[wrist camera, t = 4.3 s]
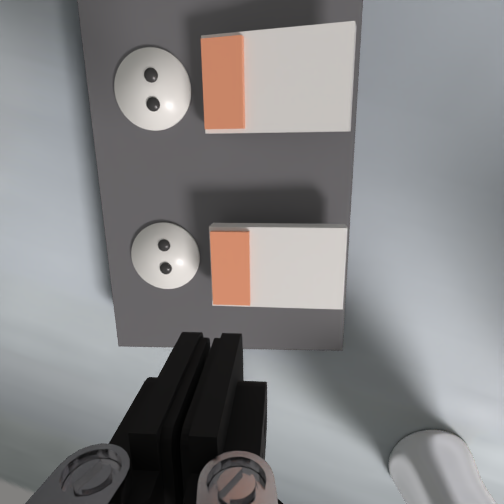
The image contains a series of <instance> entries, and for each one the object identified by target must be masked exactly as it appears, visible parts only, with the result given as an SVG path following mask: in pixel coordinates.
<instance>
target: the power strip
mask: <svg viewBox="0 0 504 504" xmlns="http://www.w3.org/2000/svg"><path fill="white" fill-rule="evenodd" d="M77 3H78V11H79V19H80V28H81V36H82V44H83V53H84V61H85V70H86V78H87V86H88V95H89V103H90V111H91V120H92V128H93V136H94V145H95V153H96V162H97V170H98V178H99V187H100V195H101V203H102V212H103V220H104V228H105V237H106V245H107V254H108V262H109V270H110V279H111V287H112V295H113V304H114V312H115V320H116V329H117V337H118V345H119V346H130V347H174V346H175V344H176V342H177V340H178V338H179V337H180V335H181V333H182V332H202V333H203V337H205V338H209V339H210V348H211V346H212V343H213V340H214V338H220V337H221V334H222V333H242V341H243V349H281V350H331V351H342V348H343V331H344V314H345V297H346V280H347V263H348V246H349V229H350V212H351V195H352V178H353V161H354V144H355V127H356V110H357V93H358V76H359V59H360V42H361V25H362V8H363V0H77ZM347 21H355V23H356V43H355V61H354V79H353V97H352V115H351V131H347V132H287V133H226V134H205V126H204V103H203V80H202V57H201V36H202V35H212V34H222V33H233V32H243V31H254V30H264V29H274V28H285V27H295V26H306V25H316V24H327V23H337V22H347ZM212 223H298V224H345V225H346V226H347V228H348V229H347V246H346V264H345V281H344V299H343V310H342V309H309V308H275V307H242V306H212V286H211V263H210V240H209V226H210V225H211V224H212Z"/></svg>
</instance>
